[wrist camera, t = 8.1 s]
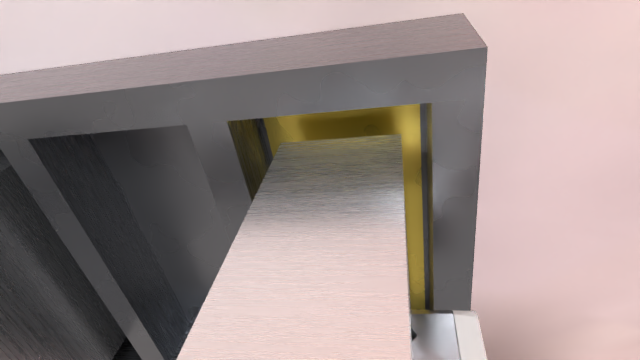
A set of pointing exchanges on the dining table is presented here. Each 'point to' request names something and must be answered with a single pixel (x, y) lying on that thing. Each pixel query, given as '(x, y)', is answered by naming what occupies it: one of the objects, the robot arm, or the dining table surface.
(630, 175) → the dining table surface
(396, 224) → the grey rectangular block
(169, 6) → the dining table surface
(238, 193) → the rack
